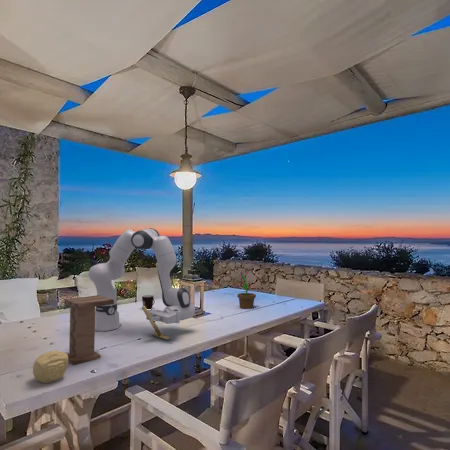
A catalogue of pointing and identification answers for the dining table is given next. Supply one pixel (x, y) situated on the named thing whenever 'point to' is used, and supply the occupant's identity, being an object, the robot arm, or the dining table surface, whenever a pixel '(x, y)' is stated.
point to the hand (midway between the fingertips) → (148, 318)
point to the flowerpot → (246, 297)
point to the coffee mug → (148, 301)
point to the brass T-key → (154, 325)
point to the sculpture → (50, 366)
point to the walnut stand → (83, 327)
